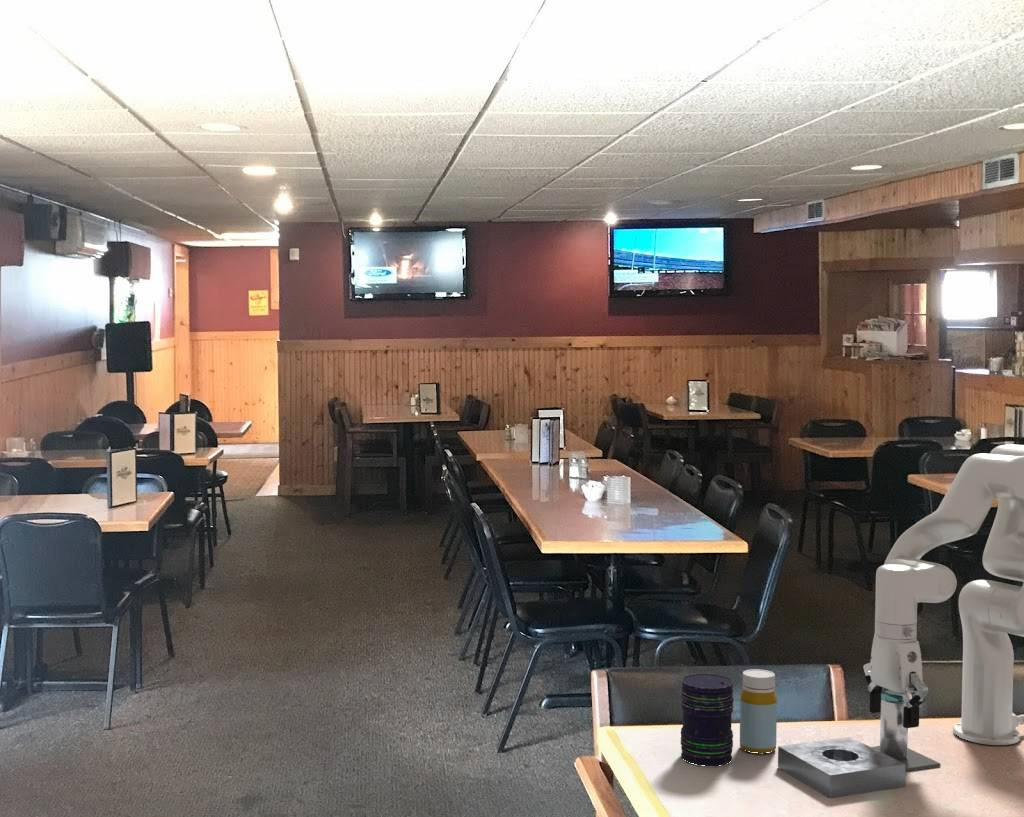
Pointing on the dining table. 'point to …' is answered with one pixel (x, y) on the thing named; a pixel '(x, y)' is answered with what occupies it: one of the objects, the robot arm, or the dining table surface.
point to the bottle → (758, 711)
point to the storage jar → (707, 719)
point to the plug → (893, 726)
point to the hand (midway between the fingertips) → (893, 719)
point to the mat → (915, 760)
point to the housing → (841, 766)
